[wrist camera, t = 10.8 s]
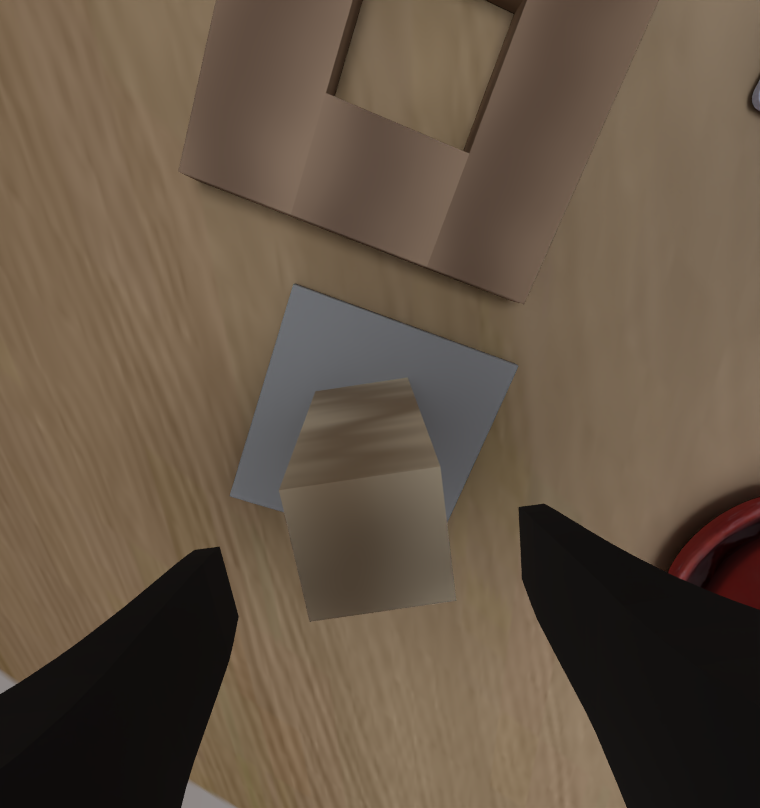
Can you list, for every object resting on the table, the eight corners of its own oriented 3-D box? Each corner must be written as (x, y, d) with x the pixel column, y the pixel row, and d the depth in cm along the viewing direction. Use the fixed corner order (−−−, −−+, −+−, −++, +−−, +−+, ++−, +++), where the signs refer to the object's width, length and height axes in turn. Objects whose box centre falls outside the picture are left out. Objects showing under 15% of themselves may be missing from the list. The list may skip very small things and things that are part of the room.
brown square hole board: (667, -68, 16) (708, -111, 14) (508, 299, 20) (524, 304, 18) (299, -260, 14) (289, -339, 13) (197, 180, 18) (178, 171, 16)
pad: (514, 363, 21) (518, 366, 20) (430, 550, 23) (431, 556, 23) (295, 283, 19) (293, 284, 19) (232, 491, 22) (229, 496, 21)
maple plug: (407, 377, 20) (440, 466, 11) (419, 462, 21) (456, 600, 13) (315, 391, 20) (278, 490, 11) (331, 475, 21) (309, 622, 13)
